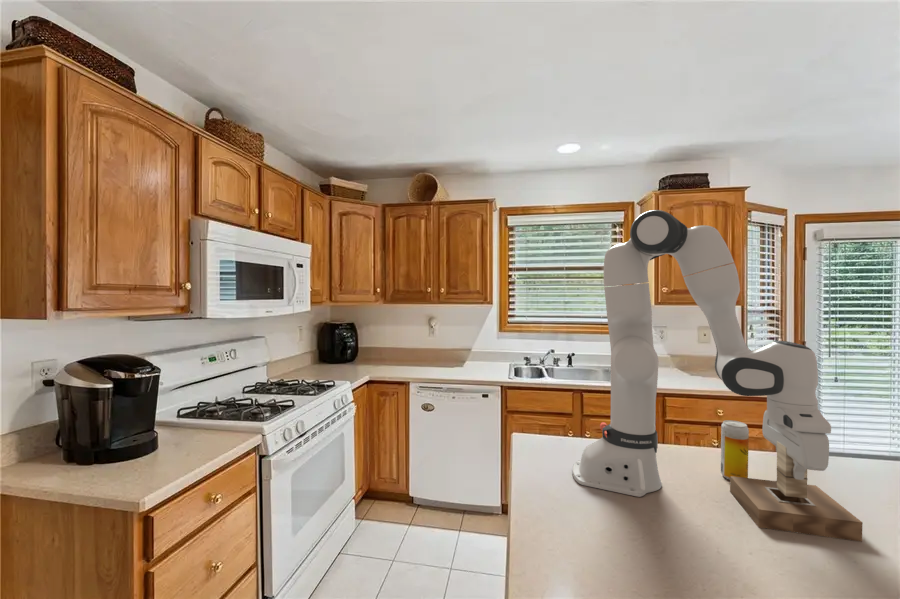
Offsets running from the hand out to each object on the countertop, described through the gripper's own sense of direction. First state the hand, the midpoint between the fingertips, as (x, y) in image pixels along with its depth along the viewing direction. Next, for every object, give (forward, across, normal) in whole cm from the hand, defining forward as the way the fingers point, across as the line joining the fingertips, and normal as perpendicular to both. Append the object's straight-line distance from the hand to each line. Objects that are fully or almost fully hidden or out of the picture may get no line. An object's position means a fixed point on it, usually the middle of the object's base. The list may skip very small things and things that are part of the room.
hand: (791, 472), depth 92 cm
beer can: (+10, -17, -5) cm, 20 cm away
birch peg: (+5, 0, 0) cm, 5 cm away
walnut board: (+10, 0, 0) cm, 10 cm away
